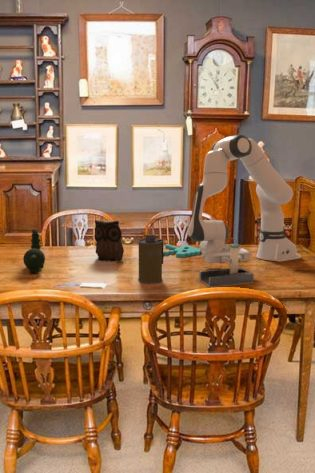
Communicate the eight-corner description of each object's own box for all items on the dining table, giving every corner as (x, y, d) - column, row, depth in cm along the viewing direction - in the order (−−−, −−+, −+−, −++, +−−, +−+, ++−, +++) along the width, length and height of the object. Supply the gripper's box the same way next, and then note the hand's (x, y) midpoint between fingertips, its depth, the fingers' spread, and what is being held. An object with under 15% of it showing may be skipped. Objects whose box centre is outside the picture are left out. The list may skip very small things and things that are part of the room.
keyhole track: (240, 275, 226) (240, 266, 226) (253, 283, 215) (254, 274, 214) (198, 279, 220) (199, 270, 219) (210, 287, 209) (210, 278, 208)
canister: (143, 284, 212) (143, 238, 208) (134, 278, 222) (134, 233, 218) (167, 281, 217) (167, 235, 212) (157, 275, 226) (157, 231, 222)
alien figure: (158, 257, 260) (197, 259, 257) (158, 252, 260) (197, 254, 256) (166, 248, 280) (202, 250, 276) (166, 244, 279) (202, 246, 275)
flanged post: (236, 275, 222) (237, 242, 219) (242, 279, 217) (243, 245, 214) (224, 277, 220) (226, 243, 217) (230, 280, 215) (232, 246, 212)
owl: (124, 261, 250) (124, 221, 246) (100, 263, 245) (99, 222, 241) (116, 255, 262) (116, 216, 257) (92, 257, 257) (92, 218, 253)
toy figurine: (26, 267, 245) (22, 277, 221) (25, 227, 243) (20, 233, 219) (46, 266, 247) (44, 276, 222) (45, 227, 245) (43, 233, 220)
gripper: (199, 248, 225) (213, 255, 212) (241, 244, 231) (256, 251, 219) (199, 261, 226) (212, 270, 213) (240, 258, 233) (255, 265, 220)
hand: (235, 260), depth 216 cm, fingers closed on flanged post, 3 cm apart
